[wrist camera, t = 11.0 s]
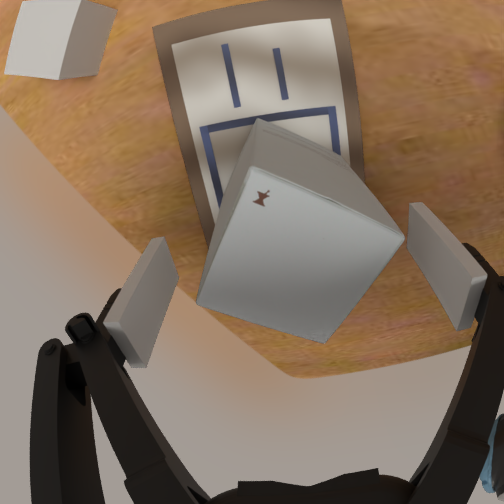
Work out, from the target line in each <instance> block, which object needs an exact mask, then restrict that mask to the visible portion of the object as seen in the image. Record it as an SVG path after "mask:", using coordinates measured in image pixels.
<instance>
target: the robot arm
mask: <svg viewBox="0 0 504 504" xmlns="http://www.w3.org/2000/svg"><path fill="white" fill-rule="evenodd" d="M407 249H408V251H409V252H410V254H411V255H412V257H413V259H414V260H415V262H416V263H417V265H418V266H419V268H420V269H421V271H422V273H423V274H424V276H425V277H426V279H427V281H428V282H429V284H430V286H431V287H432V289H433V291H434V292H435V294H436V296H437V297H438V299H439V301H440V303H441V304H442V306H443V308H444V309H445V311H446V313H447V315H448V317H449V318H450V320H451V322H452V324H453V326H454V328H455V329H456V331H460V330H463V329H467V328H471V325H472V323H473V320H474V317H475V318H476V320H477V321H478V326H477V329H476V331H475V334H474V336H473V339H472V345H471V349H470V352H469V355H468V358H467V361H466V364H465V367H464V370H463V373H462V375H461V378H460V381H459V383H458V386H457V389H456V391H455V393H454V396H453V399H452V401H451V403H450V406H449V408H448V410H447V413H446V415H445V417H444V419H443V421H442V423H441V426H440V428H439V430H438V432H437V434H436V436H435V438H434V440H433V442H432V444H431V446H430V448H429V450H428V451H427V453H426V455H425V457H424V459H423V461H422V462H421V464H420V466H419V467H418V468H417V470H416V472H415V473H414V475H413V476H412V478H411V479H410V481H409V482H408V481H406V480H403V479H401V478H398V477H394V476H389V475H379V472H378V468H376V469H371V470H366V471H360V472H355V473H348V474H343V475H341V476H338V477H336V478H333V479H330V480H327V481H324V482H321V483H318V484H315V485H312V486H299V485H293V484H287V483H281V482H275V481H238V488H235V489H232V490H229V491H226V492H224V493H221V494H219V495H217V496H215V497H213V498H212V499H211V498H210V497H209V496H208V495H207V494H206V492H204V491H203V489H202V488H201V487H200V486H199V485H198V484H197V483H196V481H195V480H194V479H193V477H192V476H191V475H190V473H189V472H188V471H187V469H186V468H185V466H184V465H183V463H182V462H181V461H180V459H179V458H178V456H177V455H176V453H175V452H174V450H173V449H172V447H171V446H170V444H169V443H168V441H167V440H166V438H165V437H164V435H163V433H162V432H161V430H160V429H159V427H158V426H157V424H156V422H155V421H154V419H153V417H152V416H151V414H150V412H149V411H148V409H147V407H146V406H145V404H144V402H143V400H142V399H141V397H140V395H139V394H138V392H137V390H136V388H135V386H134V384H133V382H132V380H131V379H130V377H129V375H128V373H127V371H126V369H125V368H124V367H123V365H124V362H125V360H127V362H128V363H129V365H130V366H131V367H133V368H146V367H147V364H148V361H149V358H150V356H151V353H152V350H153V347H154V344H155V342H156V339H157V336H158V333H159V330H160V327H161V325H162V322H163V319H164V317H165V314H166V311H167V308H168V306H169V303H170V300H171V298H172V295H173V292H174V290H175V287H176V285H177V282H178V280H179V276H178V273H177V270H176V268H175V265H174V262H173V259H172V257H171V254H170V251H169V248H168V245H167V242H166V240H165V237H158V238H152V239H151V241H150V242H149V244H148V246H147V247H146V249H145V250H144V252H143V254H142V255H141V257H140V259H139V261H138V262H137V264H136V265H135V267H134V269H133V271H132V272H131V274H130V275H129V277H128V279H127V281H126V282H125V284H124V286H123V287H122V288H120V289H117V290H116V291H115V292H114V293H113V294H112V295H111V296H110V298H109V300H108V301H107V304H106V305H105V307H104V308H103V309H104V310H102V312H101V314H100V315H99V317H98V319H97V321H96V323H95V322H94V320H93V318H92V317H91V315H90V314H89V313H80V314H78V315H76V316H74V317H73V318H72V319H70V320H69V322H68V323H67V325H66V327H65V331H66V333H67V334H68V336H69V337H70V339H71V340H72V341H73V343H72V344H69V345H65V346H64V345H63V344H62V342H61V341H60V340H59V339H56V338H54V339H50V340H49V341H47V342H45V343H44V344H43V345H42V347H41V348H40V350H39V354H38V360H37V366H36V374H35V381H34V390H33V400H32V412H31V428H30V485H31V501H32V504H105V500H104V496H103V490H102V485H101V480H100V474H99V468H98V462H97V455H96V447H95V439H94V430H93V421H92V410H91V397H92V399H93V402H94V405H95V407H96V410H97V412H98V415H99V417H100V420H101V422H102V425H103V427H104V430H105V432H106V434H107V437H108V439H109V441H110V443H111V445H112V448H113V450H114V452H115V454H116V456H117V458H118V460H119V462H120V464H121V466H122V469H123V470H124V472H125V474H126V478H127V479H126V480H125V481H124V484H125V487H126V489H127V491H128V493H129V495H130V497H131V499H132V500H133V502H134V504H467V502H468V500H469V498H470V496H471V494H472V492H473V490H474V488H475V485H476V483H477V481H478V479H479V477H480V480H481V481H482V486H483V488H484V490H485V491H486V492H488V493H494V492H496V493H497V498H498V500H501V501H504V414H501V415H500V416H499V417H498V418H497V419H496V420H495V418H496V415H497V412H498V408H499V405H500V401H501V398H502V394H503V390H504V276H499V275H498V274H497V273H496V272H495V270H494V269H493V268H492V267H491V266H490V265H489V263H488V262H487V261H485V259H484V258H483V256H481V254H480V253H479V252H478V251H477V250H476V249H475V248H474V247H473V246H471V245H469V244H468V243H462V244H461V243H460V241H459V240H458V239H457V238H456V237H455V236H454V235H453V234H452V233H451V231H450V230H449V229H448V228H447V227H446V226H445V225H444V224H443V223H442V222H441V221H440V220H439V219H438V218H437V217H436V216H435V215H434V214H433V213H432V212H431V211H430V210H429V209H428V208H427V207H426V206H425V205H424V204H423V203H422V202H416V203H409V223H408V238H407Z"/></svg>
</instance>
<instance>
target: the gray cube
mask: <svg viewBox="0 0 504 504" xmlns="http://www.w3.org/2000/svg"><path fill="white" fill-rule="evenodd" d="M117 11H118V10H116V9H113V8H110V7H107V6H104V5H101V4H97V3H94V2H91V1H87V0H33V1H23V2H22V5H21V8H20V11H19V14H18V18H17V21H16V25H15V28H14V32H13V36H12V40H11V44H10V48H9V53H8V57H7V62H6V67H5V73H4V74H10V75H21V76H30V77H39V78H47V79H54V80H62V79H69V78H77V77H85V76H94V75H98V72H99V68H100V64H101V61H102V57H103V54H104V50H105V47H106V44H107V40H108V37H109V34H110V31H111V28H112V25H113V22H114V19H115V16H116V14H117Z"/></svg>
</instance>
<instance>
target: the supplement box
mask: <svg viewBox="0 0 504 504" xmlns="http://www.w3.org/2000/svg"><path fill="white" fill-rule="evenodd" d="M404 240H405V236H404V234H403V233H402V232H401V230H400V229H399V227H398V226H397V224H396V223H395V222H394V220H393V219H392V218H391V216H390V215H389V214H388V212H387V211H386V210H385V208H384V207H383V206H382V205H381V203H380V202H379V201H378V200H377V198H376V197H375V196H374V195H373V193H372V192H371V191H370V190H369V189H368V187H367V186H366V185H365V184H364V183H363V181H362V180H361V179H360V178H359V177H358V175H357V174H356V173H355V172H354V171H353V170H352V169H351V167H350V166H349V165H348V164H347V163H346V161H345V160H344V159H343V158H342V157H341V156H340V155H338V154H337V153H335V152H333V151H331V150H329V149H327V148H325V147H323V146H321V145H319V144H317V143H315V142H313V141H310V140H308V139H306V138H304V137H302V136H299V135H297V134H295V133H293V132H290V131H288V130H286V129H283V128H281V127H279V126H276V125H274V124H272V123H269V122H267V121H264V120H262V119H259V118H257V119H256V121H255V123H254V125H253V127H252V129H251V132H250V134H249V136H248V138H247V140H246V142H245V145H244V147H243V149H242V151H241V153H240V156H239V158H238V160H237V163H236V165H235V167H234V170H233V172H232V175H231V177H230V180H229V182H228V185H227V187H226V190H225V193H224V195H223V198H222V202H221V206H220V210H219V213H218V217H217V221H216V224H215V228H214V231H213V235H212V239H211V242H210V246H209V250H208V254H207V258H206V262H205V266H204V270H203V274H202V278H201V282H200V286H199V290H198V294H197V299H196V304H197V305H199V306H202V307H205V308H208V309H211V310H214V311H217V312H220V313H223V314H227V315H230V316H233V317H236V318H239V319H242V320H245V321H249V322H252V323H255V324H258V325H261V326H265V327H268V328H271V329H275V330H278V331H281V332H285V333H288V334H292V335H295V336H298V337H302V338H305V339H309V340H313V341H316V342H319V343H326V341H327V340H328V339H329V338H330V337H331V335H332V334H333V333H334V332H335V331H336V329H337V328H338V327H339V326H340V325H341V323H342V322H343V321H344V320H345V318H346V317H347V316H348V315H349V313H350V312H351V311H352V310H353V308H354V307H355V306H356V304H357V303H358V302H359V301H360V299H361V298H362V297H363V295H364V294H365V292H366V291H367V290H368V288H369V287H370V286H371V284H372V283H373V282H374V281H375V279H376V278H377V277H378V275H379V274H380V273H381V272H382V270H383V269H384V268H385V266H386V265H387V264H388V262H389V261H390V260H391V258H392V257H393V255H394V254H395V253H396V251H397V250H398V248H399V247H400V246H401V244H402V243H403V242H404Z"/></svg>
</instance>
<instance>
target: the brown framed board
mask: <svg viewBox="0 0 504 504" xmlns="http://www.w3.org/2000/svg"><path fill="white" fill-rule="evenodd" d="M152 29H153V33H154V38H155V43H156V47H157V52H158V56H159V61H160V65H161V70H162V74H163V78H164V83H165V87H166V91H167V95H168V100H169V104H170V108H171V112H172V116H173V120H174V124H175V128H176V132H177V136H178V140H179V144H180V148H181V151H182V155H183V159H184V163H185V167H186V170H187V174H188V178H189V182H190V185H191V189H192V193H193V196H194V200H195V203H196V207H197V211H198V214H199V218H200V221H201V225H202V228H203V232H204V235H205V239H206V242H207V245H208V249H209V246H210V242H211V239H212V235H213V231H214V228H215V224H216V221H217V217H218V213H219V210H220V206H221V202H222V198H223V195H224V193H225V190H226V187H227V185H228V182H229V180H230V177H231V175H232V172H233V170H234V167H235V165H236V163H237V160H238V158H239V156H240V153H241V151H242V149H243V147H244V145H245V142H246V140H247V138H248V136H249V134H250V132H251V129H252V127H253V125H254V123H255V121H256V119H257V118H259V119H262V120H264V121H267V122H269V123H272V124H274V125H276V126H279V127H281V128H283V129H286V130H288V131H290V132H293V133H295V134H297V135H299V136H302V137H304V138H306V139H308V140H310V141H313V142H315V143H317V144H319V145H321V146H323V147H325V148H327V149H329V150H331V151H333V152H335V153H337V154H338V155H340V156H341V157H342V158H343V159H344V160H345V161H346V163H347V164H348V165H349V166H350V167H351V169H352V170H353V171H354V172H355V173H356V174H357V175H358V177H359V178H360V179H361V180H362V181H363V183H364V184H365V176H364V158H363V144H362V132H361V121H360V111H359V102H358V94H357V86H356V79H355V72H354V65H353V58H352V52H351V46H350V41H349V35H348V30H347V25H346V20H345V15H344V10H343V5H342V1H341V0H267V1H260V2H253V3H247V4H241V5H236V6H230V7H225V8H221V9H216V10H212V11H207V12H203V13H199V14H195V15H191V16H188V17H184V18H180V19H177V20H173V21H170V22H167V23H164V24H161V25H157V26H154V27H152Z"/></svg>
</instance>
